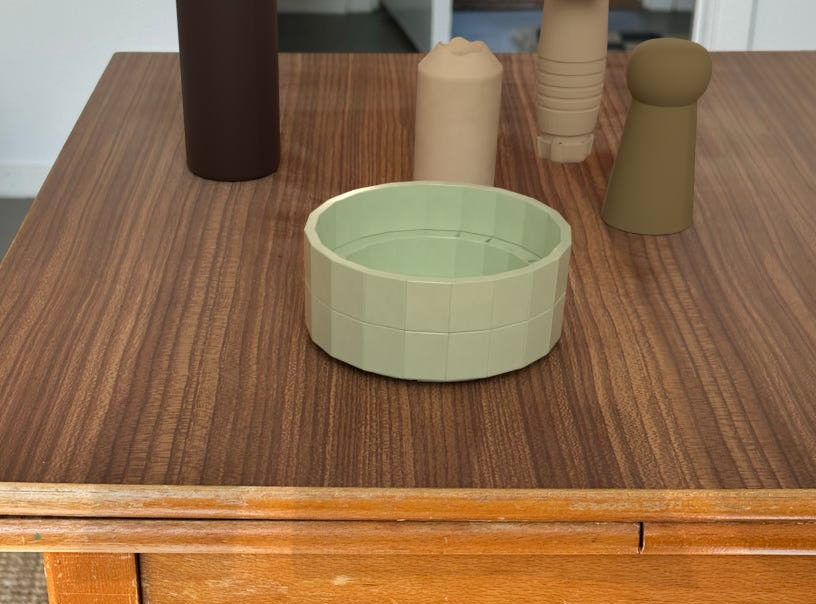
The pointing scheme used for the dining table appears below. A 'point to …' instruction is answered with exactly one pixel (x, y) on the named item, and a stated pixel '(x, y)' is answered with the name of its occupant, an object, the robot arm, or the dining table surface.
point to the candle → (457, 113)
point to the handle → (570, 77)
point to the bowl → (435, 279)
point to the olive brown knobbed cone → (658, 139)
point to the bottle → (230, 87)
